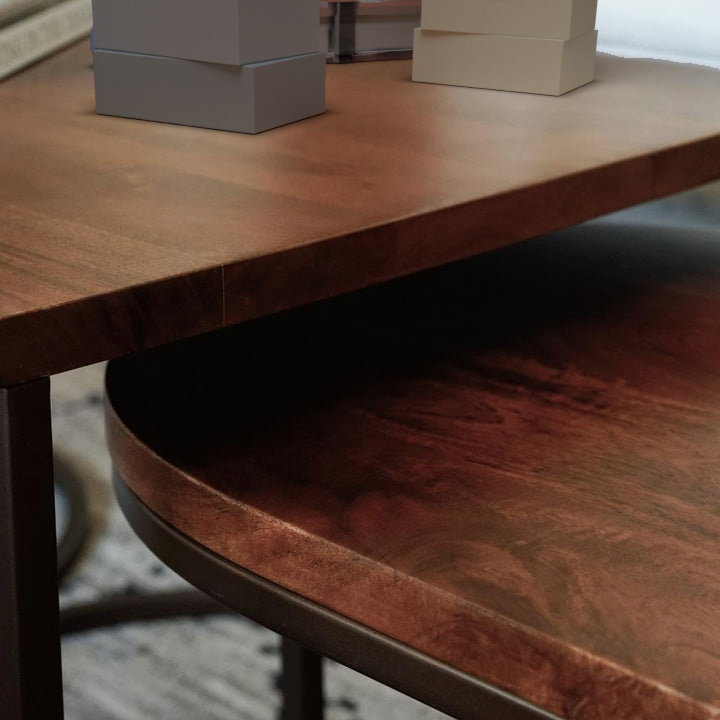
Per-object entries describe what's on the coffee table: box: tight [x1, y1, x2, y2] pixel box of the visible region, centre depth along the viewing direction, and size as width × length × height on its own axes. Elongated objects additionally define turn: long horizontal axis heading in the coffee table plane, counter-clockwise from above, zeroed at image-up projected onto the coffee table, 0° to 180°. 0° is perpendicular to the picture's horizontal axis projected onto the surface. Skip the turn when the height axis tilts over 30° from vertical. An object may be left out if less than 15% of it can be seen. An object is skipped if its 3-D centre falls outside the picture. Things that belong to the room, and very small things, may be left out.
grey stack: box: [91, 0, 327, 135], centre depth 75 cm, size 12×10×8 cm
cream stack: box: [411, 0, 599, 97], centre depth 91 cm, size 12×10×8 cm
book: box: [319, 0, 422, 64], centre depth 106 cm, size 26×18×5 cm
